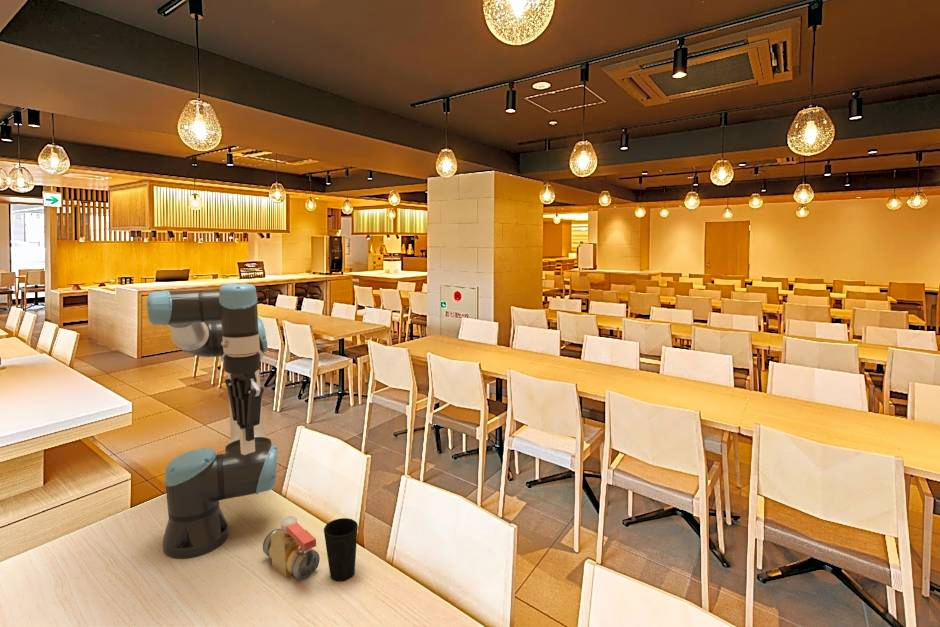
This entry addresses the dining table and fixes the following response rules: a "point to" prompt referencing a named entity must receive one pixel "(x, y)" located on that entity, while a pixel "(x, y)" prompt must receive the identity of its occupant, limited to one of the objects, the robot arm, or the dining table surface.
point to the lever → (298, 533)
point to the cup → (341, 548)
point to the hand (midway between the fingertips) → (248, 452)
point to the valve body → (290, 555)
